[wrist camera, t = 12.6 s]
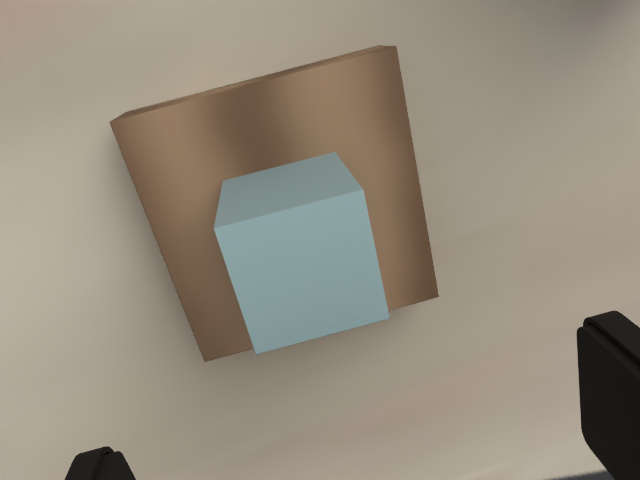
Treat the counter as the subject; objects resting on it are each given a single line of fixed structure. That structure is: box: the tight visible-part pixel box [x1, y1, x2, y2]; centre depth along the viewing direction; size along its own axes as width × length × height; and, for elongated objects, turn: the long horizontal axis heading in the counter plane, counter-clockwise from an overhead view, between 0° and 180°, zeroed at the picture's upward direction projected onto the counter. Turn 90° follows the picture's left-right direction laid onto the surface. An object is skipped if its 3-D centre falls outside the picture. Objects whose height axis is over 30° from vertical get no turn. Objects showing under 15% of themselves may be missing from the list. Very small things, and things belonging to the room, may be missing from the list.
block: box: [214, 152, 390, 354], centre depth 20 cm, size 5×5×6 cm
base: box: [110, 46, 439, 362], centre depth 24 cm, size 12×12×3 cm
